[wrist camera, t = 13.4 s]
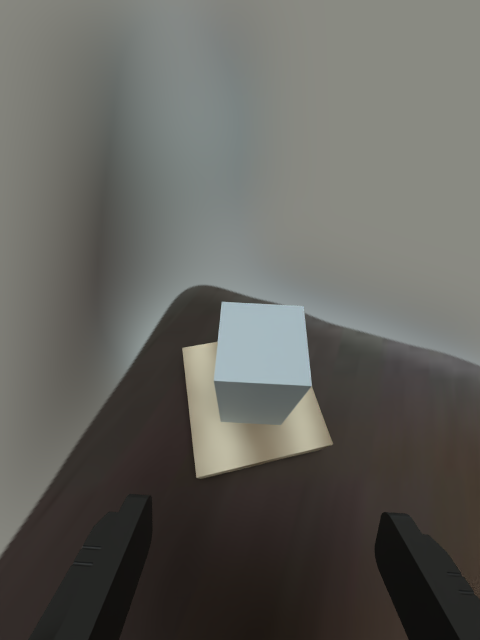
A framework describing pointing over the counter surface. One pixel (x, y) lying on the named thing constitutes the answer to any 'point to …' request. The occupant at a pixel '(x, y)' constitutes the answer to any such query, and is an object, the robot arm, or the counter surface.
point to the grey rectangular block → (261, 362)
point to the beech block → (243, 424)
